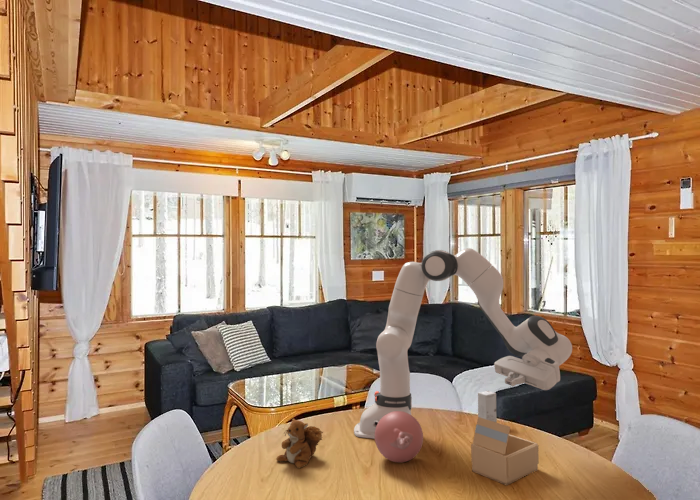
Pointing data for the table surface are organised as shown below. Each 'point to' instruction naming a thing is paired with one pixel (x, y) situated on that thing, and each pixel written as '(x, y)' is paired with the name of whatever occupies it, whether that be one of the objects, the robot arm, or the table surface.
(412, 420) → the balloon
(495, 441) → the front flap
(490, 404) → the skincare box
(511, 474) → the carton
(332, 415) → the table surface
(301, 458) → the stuffed squirrel
